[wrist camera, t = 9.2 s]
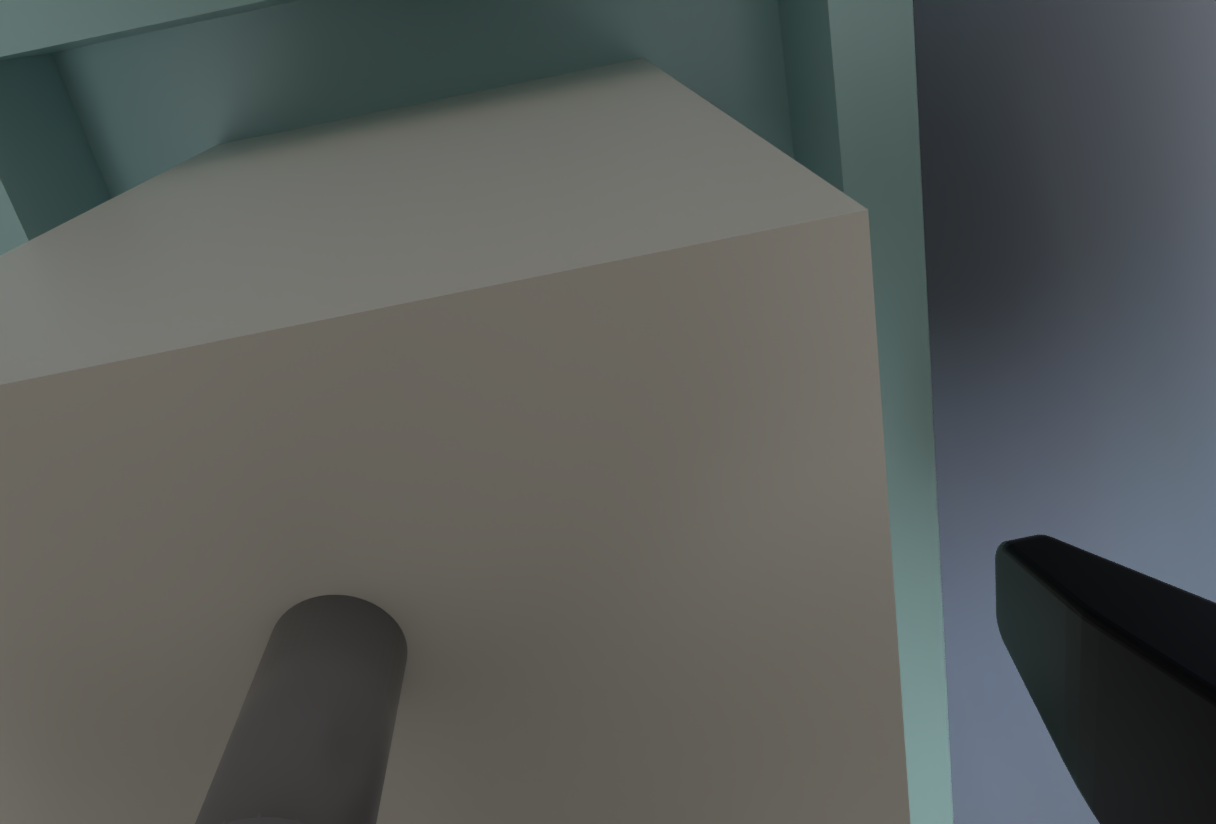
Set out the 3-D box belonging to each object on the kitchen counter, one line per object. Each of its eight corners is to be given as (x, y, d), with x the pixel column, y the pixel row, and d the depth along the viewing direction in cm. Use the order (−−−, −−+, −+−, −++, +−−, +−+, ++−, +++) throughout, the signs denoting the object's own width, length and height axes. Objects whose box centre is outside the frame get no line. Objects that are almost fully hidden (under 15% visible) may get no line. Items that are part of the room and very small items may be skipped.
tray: (895, 733, 16) (955, 856, 14) (344, 843, 16) (313, 983, 14) (819, -192, 10) (900, -241, 8) (-30, -11, 10) (-184, -10, 8)
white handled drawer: (740, 667, 15) (1040, 1656, 6) (424, 729, 15) (267, 1797, 6) (642, 57, 11) (1077, 347, 2) (217, 144, 11) (-998, 765, 2)
